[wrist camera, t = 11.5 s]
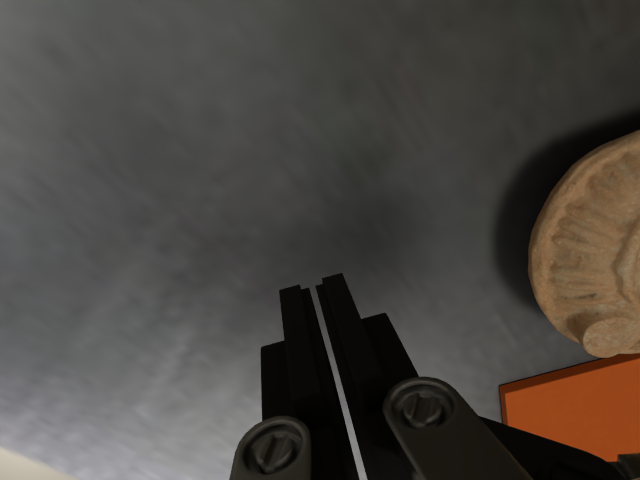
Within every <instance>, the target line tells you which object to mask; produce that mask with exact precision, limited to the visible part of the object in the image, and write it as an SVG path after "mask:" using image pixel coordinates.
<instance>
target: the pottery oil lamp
mask: <svg viewBox="0 0 640 480" xmlns="http://www.w3.org/2000/svg"><path fill="white" fill-rule="evenodd" d="M528 256H529V260H528V275H529V279H530V283H531V286H532V289H533V292H534V296H535V298H536V301H537V303H538V305H539V306H540V308H541V310H542V311H543V312H544V314H545V316H546V317H547V318H548V320H549V321H550V322H551V323H552V324H553V325H554V327H555V328H556V329H557V330H558V331H559V332H560V333H561V334H563V335H564V336H565V337H567V338H569V339H571V340H573V341H576V342H578V343H581V345H582V346H583V348H584V349H585V351H587V352H588V353H589V354H592V355H593V356H596V357H602V358H609V357H613V356H615V355H617V354H619V353H620V354H634V353H640V130H638V131H635V132H633V133H630V134H628V135H625V136H622V137H620V138H617V139H615V140H612V141H610V142H607V143H605V144H603V145H601V146H599V147H597V148H595V149H594V150H592V151H590V152H589V153H588V154H586V155H585V156H583V157H582V158H581V159H579V160H578V161H576V162H575V163H574V164H573V165H572V166H571V167H570V168H569V170H568V171H567V172H566V173H565V174H564V175H563V177H562V178H561V179H560V180H559V182H558V183H557V184H556V186H555V187H554V188H553V190H552V191H551V192H550V195H549V196H548V198H547V200H546V202H545V204H544V206H543V208H542V210H541V212H540V214H539V215H538V218H537V220H536V222H535V225H534V227H533V229H532V233H531V238H530V244H529V248H528Z"/></svg>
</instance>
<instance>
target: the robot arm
mask: <svg viewBox="0 0 640 480" xmlns="http://www.w3.org/2000/svg"><path fill="white" fill-rule="evenodd" d="M322 281H323V284H320V285H316V290H317V294H318V297H319V301H320V305H321V308H322V312H323V316H324V320H325V323H326V327H327V331H328V334H329V338H330V342H331V346H332V349H333V353H334V357H335V360H336V364H337V368H338V372H339V375H340V379H341V383H342V386H343V390H344V394H345V398H346V401H347V405H348V409H349V412H350V416H351V420H352V423H353V427H354V431H355V435H356V438H357V442H358V446H359V449H360V453H361V457H362V461H363V464H364V468H365V472H366V475H367V479H368V480H640V453H630V454H617V461H612V462H606V461H605V460H603V459H602V458H600V457H598V456H595V455H593V454H591V453H589V452H587V451H584V450H580V449H577V448H574V447H571V446H568V445H565V444H562V443H559V442H556V441H553V440H550V439H547V438H544V437H541V436H538V435H535V434H532V433H529V432H526V431H523V430H520V429H517V428H514V427H511V426H508V425H505V424H502V423H499V422H496V421H493V420H490V419H487V418H484V417H481V416H478V415H477V414H476V413H475V412H474V410H473V409H472V408H471V407H470V406H469V405H468V404H467V402H466V401H465V400H464V399H463V398H462V397H461V395H460V394H459V393H458V392H457V391H456V390H455V389H454V388H453V387H452V386H450V385H449V384H448V383H446V382H444V381H442V380H439V379H437V378H431V377H419V376H418V374H417V372H416V370H415V368H414V366H413V364H412V362H411V360H410V358H409V356H408V354H407V352H406V351H405V349H404V347H403V345H402V343H401V341H400V339H399V337H398V335H397V333H396V331H395V329H394V327H393V325H392V323H391V322H390V320H389V318H388V316H387V314H386V313H382V314H378V315H374V316H371V317H367V318H364V319H361V318H360V315H359V313H358V311H357V308H356V306H355V303H354V301H353V298H352V296H351V293H350V291H349V289H348V286H347V284H346V281H345V279H344V276H343V274H342V273H340V274H336V275H332V276H329V277H325V278H322ZM279 294H280V303H281V312H282V321H283V330H284V341H281V342H277V343H273V344H270V345H266V346H263V347H261V388H262V422H260V423H258V424H256V425H255V426H254V427H252V428H251V429H250V430H249V431H248V432H247V433H246V434H245V435H244V436H243V438H242V439H241V441H240V442H239V444H238V447H237V449H236V452H235V456H234V460H233V465H232V470H231V474H230V479H229V480H359V476H358V472H357V468H356V464H355V460H354V456H353V452H352V448H351V444H350V440H349V436H348V432H347V428H346V424H345V420H344V416H343V412H342V408H341V404H340V400H339V396H338V392H337V388H336V384H335V380H334V376H333V373H332V369H331V365H330V362H329V358H328V355H327V351H326V347H325V344H324V340H323V336H322V333H321V329H320V326H319V322H318V318H317V315H316V311H315V308H314V304H313V300H312V297H311V293H310V290H309V288H305V289H302V290H301V287H300V284H299V285H296V286H292V287H288V288H285V289H281V290H279Z"/></svg>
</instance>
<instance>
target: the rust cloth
mask: <svg viewBox="0 0 640 480" xmlns="http://www.w3.org/2000/svg"><path fill="white" fill-rule="evenodd" d="M500 397H501V407H502V417H503V424H505V425H508V426H511V427H514V428H517V429H520V430H523V431H526V432H529V433H532V434H535V435H538V436H541V437H544V438H547V439H550V440H553V441H556V442H559V443H562V444H565V445H568V446H571V447H574V448H577V449H580V450H584V451H587V452H589V453H591V454H593V455H595V456H598V457H600V458H602V459H603V460H605V461H606V462H612V461H617V454H630V453H640V353H634V354H619V355H615V356H613V357H609V358H604V359H600V360H596V361H592V362H589V363H585V364H581V365H577V366H573V367H570V368H566V369H562V370H558V371H554V372H551V373H547V374H543V375H539V376H536V377H532V378H528V379H524V380H520V381H517V382H513V383H509V384H505V385H501V386H500Z"/></svg>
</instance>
